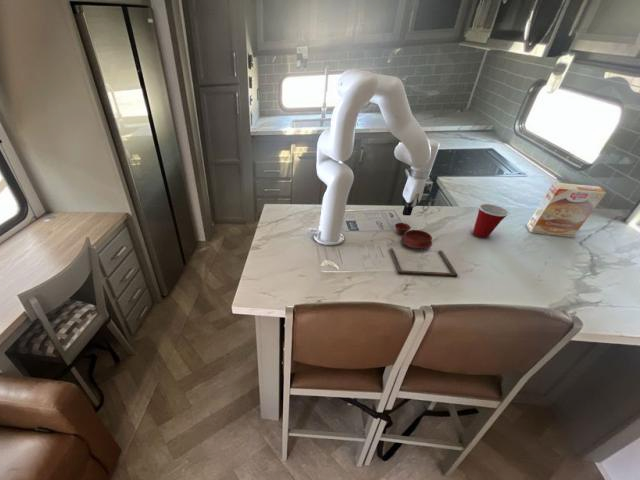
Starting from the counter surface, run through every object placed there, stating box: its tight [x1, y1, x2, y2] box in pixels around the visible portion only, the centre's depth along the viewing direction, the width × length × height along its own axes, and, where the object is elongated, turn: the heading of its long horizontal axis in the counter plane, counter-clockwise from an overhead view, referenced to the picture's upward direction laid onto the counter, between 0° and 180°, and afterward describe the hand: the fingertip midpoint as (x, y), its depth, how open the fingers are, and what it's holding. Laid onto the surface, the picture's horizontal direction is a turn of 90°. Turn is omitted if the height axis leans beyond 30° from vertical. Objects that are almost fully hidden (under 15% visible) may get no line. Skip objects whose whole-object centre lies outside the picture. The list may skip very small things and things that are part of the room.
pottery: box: [394, 222, 433, 250], centre depth 134 cm, size 12×20×4 cm, turn 10°
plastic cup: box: [472, 203, 510, 239], centre depth 132 cm, size 11×11×12 cm
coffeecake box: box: [526, 181, 607, 238], centre depth 130 cm, size 15×7×20 cm, turn 68°
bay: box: [389, 247, 458, 278], centre depth 122 cm, size 20×16×1 cm
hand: (406, 214), depth 141 cm, fingers closed
